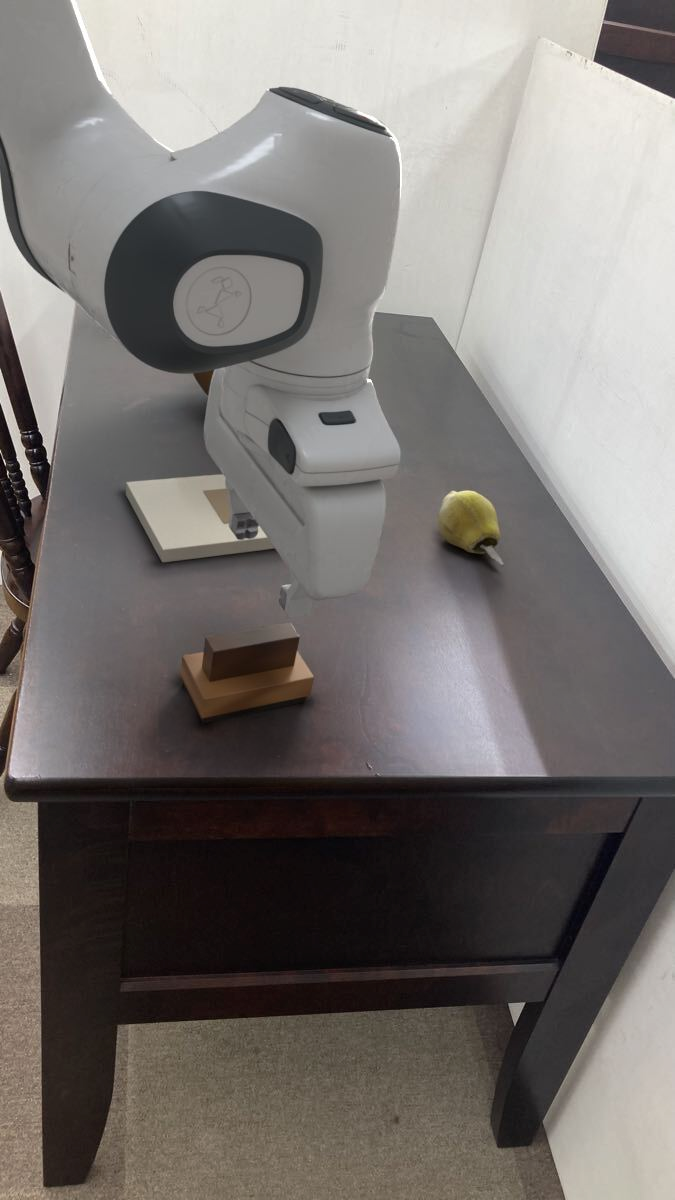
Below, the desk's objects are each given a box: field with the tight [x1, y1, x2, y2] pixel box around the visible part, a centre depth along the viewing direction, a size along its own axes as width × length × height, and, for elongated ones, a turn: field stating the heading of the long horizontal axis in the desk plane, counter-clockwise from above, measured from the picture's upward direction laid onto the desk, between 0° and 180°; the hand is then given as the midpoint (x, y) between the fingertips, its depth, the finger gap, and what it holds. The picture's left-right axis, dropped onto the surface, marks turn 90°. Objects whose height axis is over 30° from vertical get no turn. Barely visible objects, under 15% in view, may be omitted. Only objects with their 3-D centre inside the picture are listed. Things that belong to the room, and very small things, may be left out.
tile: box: [125, 473, 276, 563], centre depth 90 cm, size 20×12×2 cm, turn 116°
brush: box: [180, 622, 315, 724], centre depth 69 cm, size 9×5×6 cm, turn 116°
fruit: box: [436, 490, 504, 567], centre depth 92 cm, size 6×6×10 cm
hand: (267, 570), depth 63 cm, fingers open, 8 cm apart
